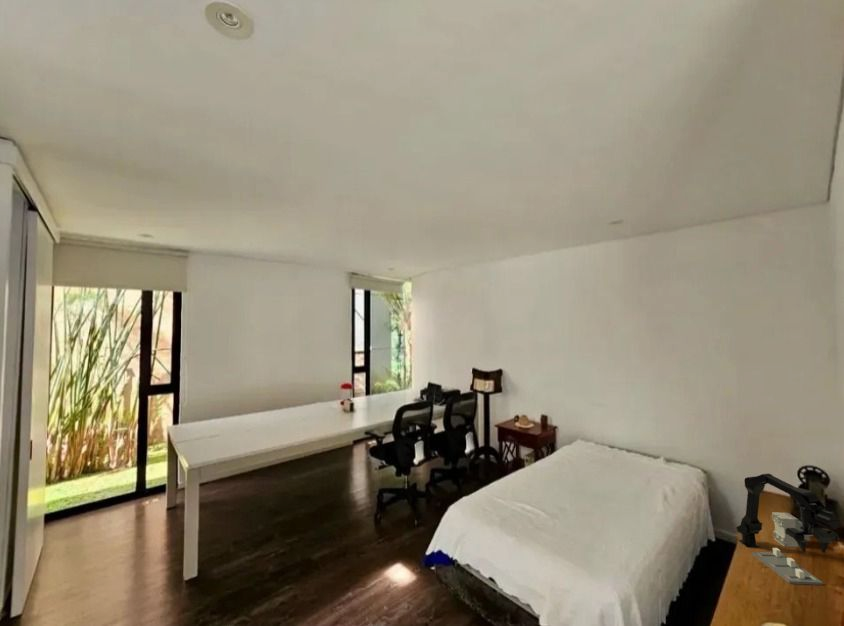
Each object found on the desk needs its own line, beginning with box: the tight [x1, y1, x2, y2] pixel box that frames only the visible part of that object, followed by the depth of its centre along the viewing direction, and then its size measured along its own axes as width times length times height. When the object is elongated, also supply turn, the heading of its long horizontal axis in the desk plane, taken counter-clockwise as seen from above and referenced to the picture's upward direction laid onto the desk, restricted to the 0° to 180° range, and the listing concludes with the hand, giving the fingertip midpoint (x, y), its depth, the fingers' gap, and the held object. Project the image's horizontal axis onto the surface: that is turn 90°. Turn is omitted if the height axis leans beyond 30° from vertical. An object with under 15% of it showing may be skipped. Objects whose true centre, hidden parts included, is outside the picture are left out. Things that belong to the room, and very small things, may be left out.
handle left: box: [772, 547, 782, 557], centre depth 196 cm, size 2×2×3 cm
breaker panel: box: [751, 551, 824, 586], centre depth 187 cm, size 24×14×1 cm, turn 172°
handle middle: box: [787, 557, 796, 567], centre depth 187 cm, size 2×2×3 cm
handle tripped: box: [795, 569, 805, 579], centre depth 179 cm, size 2×2×3 cm
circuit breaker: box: [771, 511, 811, 548], centre depth 209 cm, size 8×14×15 cm, turn 78°
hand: (813, 552), depth 178 cm, fingers open, 8 cm apart
